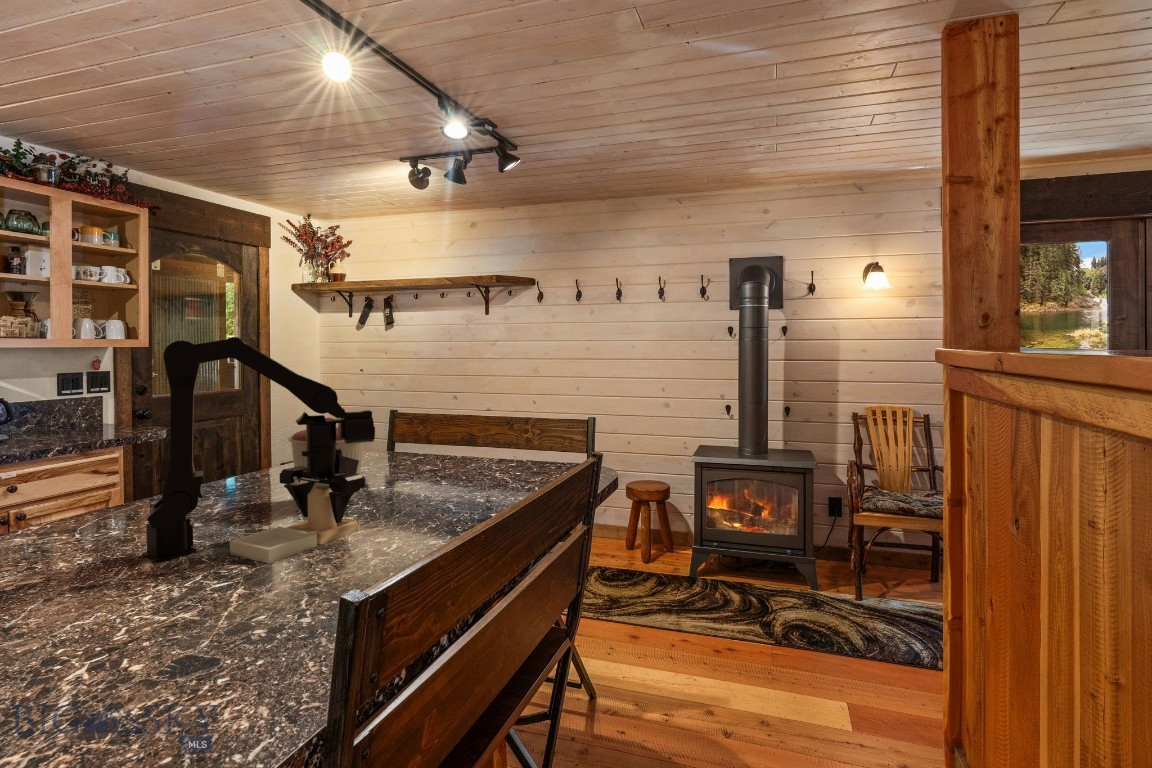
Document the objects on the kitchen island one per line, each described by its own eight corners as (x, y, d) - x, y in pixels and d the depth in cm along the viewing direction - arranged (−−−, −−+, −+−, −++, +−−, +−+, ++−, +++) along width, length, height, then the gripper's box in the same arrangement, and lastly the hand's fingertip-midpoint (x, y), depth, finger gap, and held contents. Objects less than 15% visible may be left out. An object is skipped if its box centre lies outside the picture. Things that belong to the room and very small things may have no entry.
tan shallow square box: (320, 544, 122) (320, 534, 122) (285, 537, 126) (285, 527, 126) (358, 531, 131) (358, 521, 131) (324, 524, 135) (324, 515, 135)
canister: (272, 507, 149) (270, 420, 148) (323, 490, 166) (322, 412, 165) (335, 513, 144) (334, 423, 143) (381, 496, 161) (380, 415, 160)
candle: (317, 540, 125) (316, 491, 124) (302, 534, 128) (302, 487, 127) (342, 533, 129) (341, 486, 128) (327, 528, 132) (326, 482, 132)
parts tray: (268, 563, 111) (268, 549, 111) (230, 554, 116) (229, 540, 116) (316, 546, 121) (316, 533, 121) (279, 538, 125) (278, 526, 125)
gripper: (384, 443, 131) (384, 516, 132) (320, 436, 139) (321, 505, 140) (343, 451, 121) (344, 530, 122) (277, 443, 129) (278, 517, 130)
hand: (322, 519), depth 128 cm, fingers open, 9 cm apart
